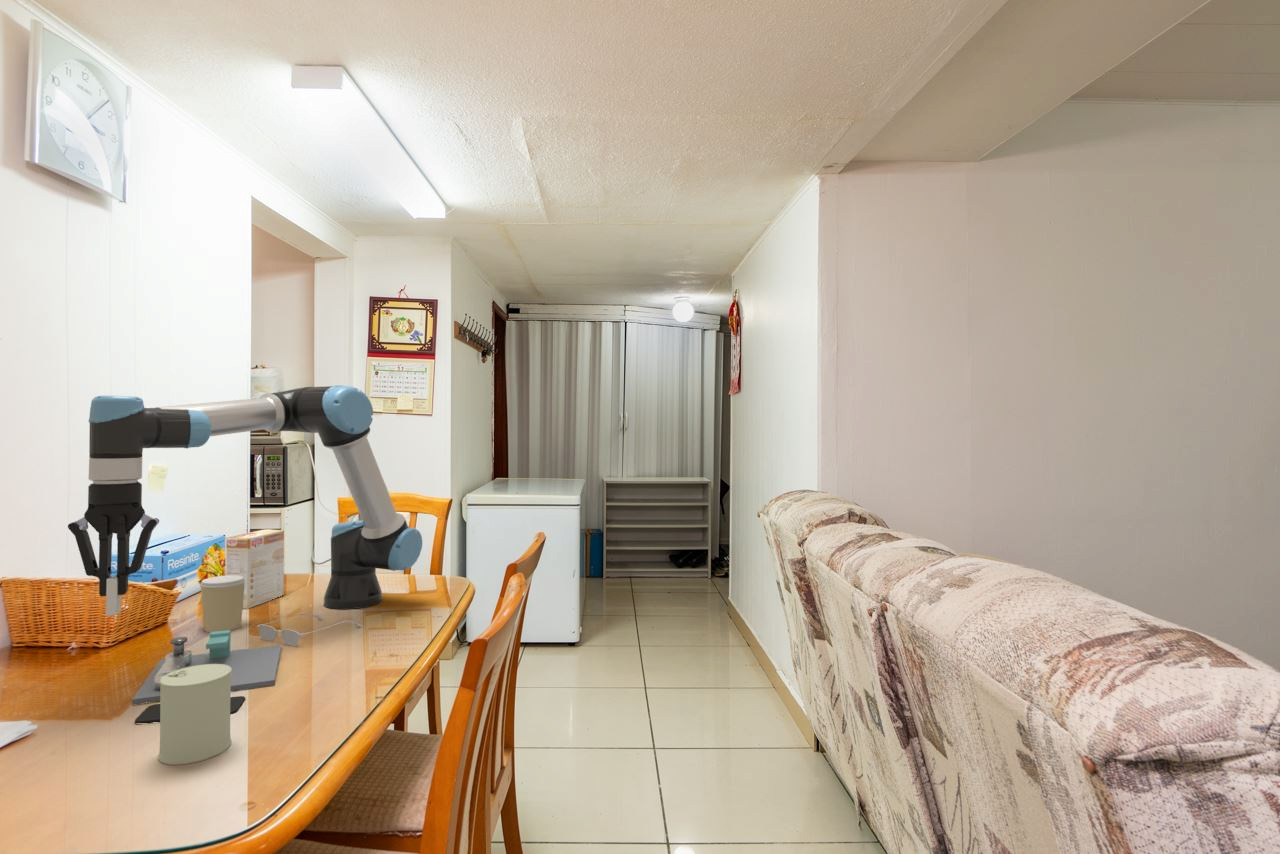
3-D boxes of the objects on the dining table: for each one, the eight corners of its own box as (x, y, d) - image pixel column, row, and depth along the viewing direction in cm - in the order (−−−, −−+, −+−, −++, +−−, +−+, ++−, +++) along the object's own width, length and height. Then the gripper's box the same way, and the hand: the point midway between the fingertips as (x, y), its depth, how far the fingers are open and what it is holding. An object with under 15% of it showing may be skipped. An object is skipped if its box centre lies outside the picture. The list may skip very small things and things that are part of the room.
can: (182, 737, 105) (183, 661, 105) (243, 735, 105) (243, 659, 105) (143, 766, 95) (144, 683, 95) (210, 764, 96) (211, 681, 96)
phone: (235, 711, 113) (132, 722, 109) (235, 716, 113) (131, 727, 108) (247, 695, 120) (150, 704, 116) (246, 699, 120) (149, 709, 116)
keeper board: (281, 649, 147) (281, 622, 147) (274, 685, 126) (274, 653, 126) (161, 663, 137) (161, 634, 137) (131, 705, 116) (132, 671, 116)
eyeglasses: (255, 640, 154) (255, 623, 154) (322, 620, 170) (322, 605, 171) (300, 650, 148) (300, 632, 148) (365, 628, 164) (365, 612, 164)
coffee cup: (253, 623, 166) (253, 575, 166) (226, 634, 157) (227, 583, 157) (218, 621, 167) (219, 574, 167) (190, 632, 158) (190, 582, 158)
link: (167, 661, 134) (168, 637, 134) (193, 658, 136) (193, 634, 136) (148, 691, 119) (148, 663, 119) (177, 687, 121) (177, 659, 121)
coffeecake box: (262, 595, 195) (263, 528, 195) (284, 596, 194) (285, 529, 194) (224, 608, 180) (225, 536, 180) (247, 609, 179) (248, 537, 179)
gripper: (164, 479, 124) (162, 604, 124) (76, 481, 119) (74, 612, 119) (155, 482, 118) (152, 614, 117) (61, 484, 112) (59, 623, 112)
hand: (113, 613), depth 118 cm, fingers closed
